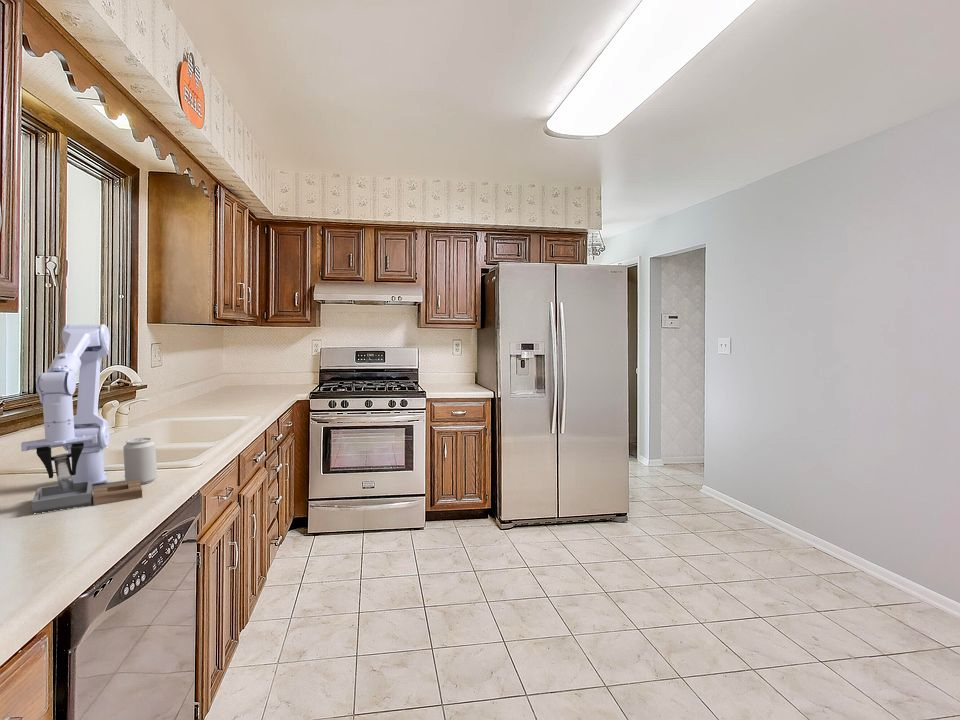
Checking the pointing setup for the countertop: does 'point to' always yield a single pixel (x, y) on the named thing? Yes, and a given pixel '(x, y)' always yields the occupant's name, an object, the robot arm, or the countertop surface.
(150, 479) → the can
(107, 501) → the hitch block
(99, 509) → the countertop surface
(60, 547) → the countertop surface
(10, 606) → the countertop surface
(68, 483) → the pin
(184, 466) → the countertop surface
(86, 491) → the tray
